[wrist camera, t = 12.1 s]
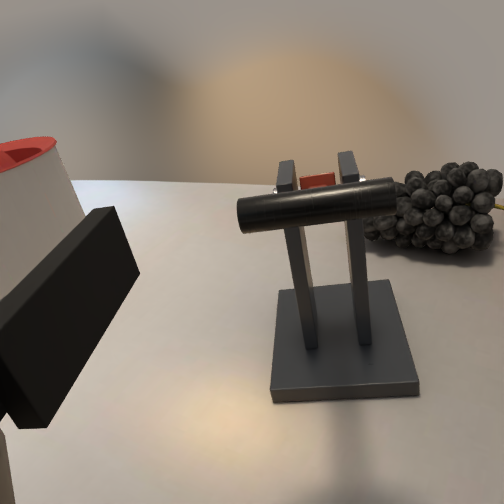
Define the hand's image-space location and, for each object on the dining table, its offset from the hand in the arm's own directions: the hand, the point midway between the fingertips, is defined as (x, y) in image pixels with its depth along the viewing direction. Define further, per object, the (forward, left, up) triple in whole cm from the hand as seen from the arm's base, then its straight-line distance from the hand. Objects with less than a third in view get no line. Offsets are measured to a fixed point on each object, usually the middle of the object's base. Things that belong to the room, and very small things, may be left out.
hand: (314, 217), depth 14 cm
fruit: (-4, -30, -18) cm, 35 cm away
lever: (+2, -9, -4) cm, 10 cm away
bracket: (+3, -14, -18) cm, 23 cm away
